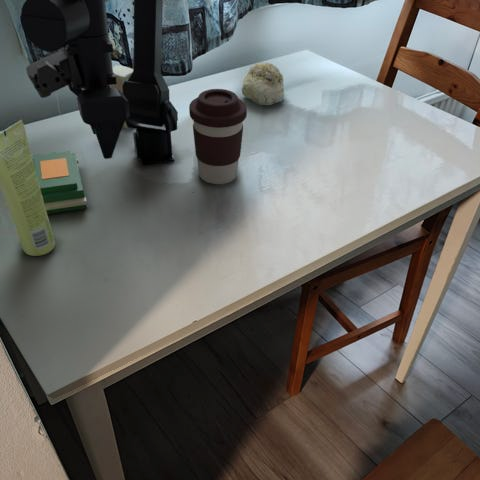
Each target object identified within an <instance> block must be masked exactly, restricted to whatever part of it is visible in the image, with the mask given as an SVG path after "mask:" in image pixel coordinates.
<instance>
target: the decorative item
mask: <svg viewBox="0 0 480 480" xmlns="http://www.w3.org/2000/svg"><path fill="white" fill-rule="evenodd" d="M284 89H285V86H284V75H283V74H282V73H281V70H280V69H279V68H278V67H277V66H276V65H275V64H273V63H271V62H258V63H256V64H254V65H252V66H251V67H250V68H249V69H248V70H247V73H246V75H245V77H244V79H243V82H242V86H241V93H242V95H243V96H244V97H245V98H246V99H249V100H251V101H253V102H254V103H256V104H257V105H259V106H271V105H273V104H276V103H281V102H282V101H284V98H285V90H284Z"/></svg>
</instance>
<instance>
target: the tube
mask: <svg viewBox="0 0 480 480" xmlns="http://www.w3.org/2000/svg"><path fill="white" fill-rule="evenodd" d="M32 158H33V156H32V152H31V148H30V143H29V139H28V136H27V132H26V127H25V125H24V122H23V119H20V120H19V121H17V122H15V123H14V124H12V125H10V126H8V127H7V128H6V129H3V130H2V131H0V190H1V192H2V195H3V197H4V200H5V203H6V206H7V208H8V211H9V214H10V217H11V220H12V222H13V225H14V228H15V230H16V233H17V236H18V240H19V242H20V245H21V249H22V250H23V253H25V254H26V255H28V256H31V257H39V256H44V255H47V254H49V253H50V252H52V251H53V250H54V248H55V246H56V241H55V237H54V234H53V230H52V226H51V223H50V220H49V219H50V218H49V216H48V214H47V212H46V208H45V205H44V201H43V197H42V194H41V190H40V186H39V182H38V179H37V175H36V171H35V167H34V163H33V159H32Z"/></svg>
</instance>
